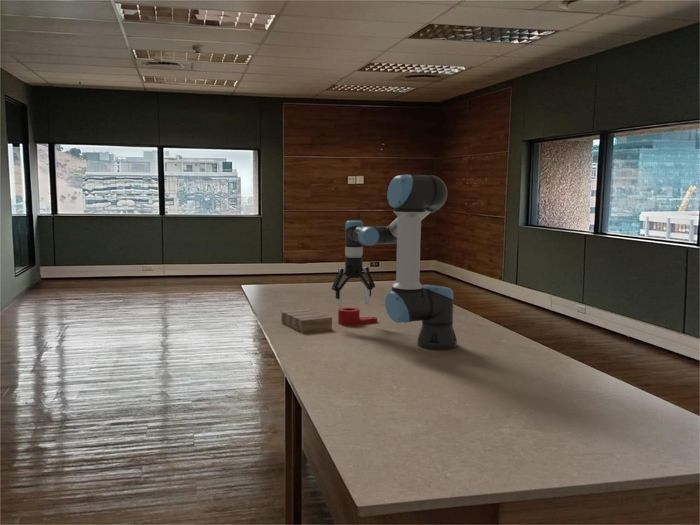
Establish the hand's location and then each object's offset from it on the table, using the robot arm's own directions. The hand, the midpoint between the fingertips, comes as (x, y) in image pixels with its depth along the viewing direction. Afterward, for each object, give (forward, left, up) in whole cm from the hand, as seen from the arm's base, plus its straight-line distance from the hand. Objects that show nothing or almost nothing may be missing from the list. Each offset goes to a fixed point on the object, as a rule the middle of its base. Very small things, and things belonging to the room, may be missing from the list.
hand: (353, 305), depth 273 cm
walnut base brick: (+8, +19, -10) cm, 23 cm away
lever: (+5, -5, -10) cm, 12 cm away
